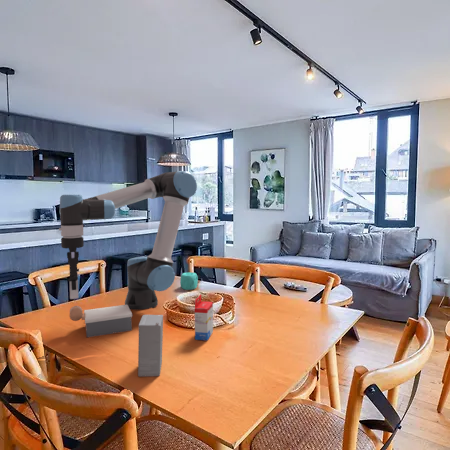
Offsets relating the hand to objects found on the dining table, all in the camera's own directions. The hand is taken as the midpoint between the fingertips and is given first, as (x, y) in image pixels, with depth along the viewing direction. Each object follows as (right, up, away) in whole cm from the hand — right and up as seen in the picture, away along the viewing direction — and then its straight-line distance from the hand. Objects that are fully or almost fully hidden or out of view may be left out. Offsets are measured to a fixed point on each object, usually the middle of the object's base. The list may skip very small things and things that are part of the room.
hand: (74, 293), depth 128 cm
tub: (+11, -15, +6) cm, 20 cm away
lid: (+8, -9, +5) cm, 13 cm away
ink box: (+48, -16, 0) cm, 51 cm away
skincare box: (+34, -18, -25) cm, 46 cm away
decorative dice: (+36, -10, +65) cm, 75 cm away
